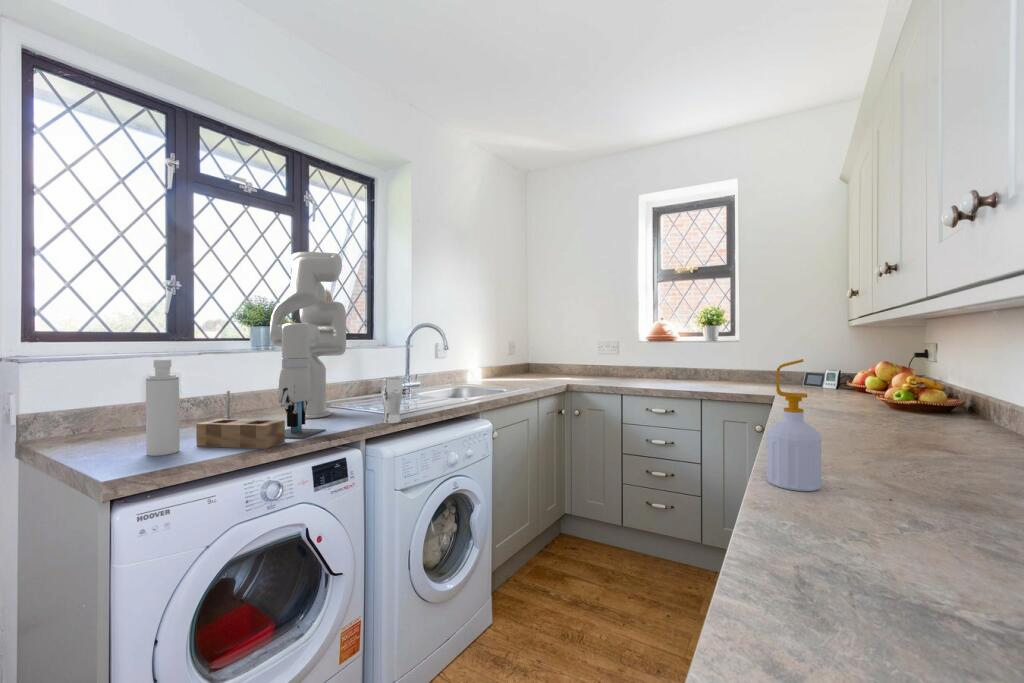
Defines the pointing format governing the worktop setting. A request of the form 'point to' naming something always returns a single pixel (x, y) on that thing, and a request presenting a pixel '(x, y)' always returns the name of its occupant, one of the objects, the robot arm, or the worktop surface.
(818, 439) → the soap bottle
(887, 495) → the worktop surface
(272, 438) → the hole block
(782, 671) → the worktop surface
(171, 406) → the white capped bottle
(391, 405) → the beer glass
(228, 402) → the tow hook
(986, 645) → the worktop surface
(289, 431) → the mat
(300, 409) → the pin
